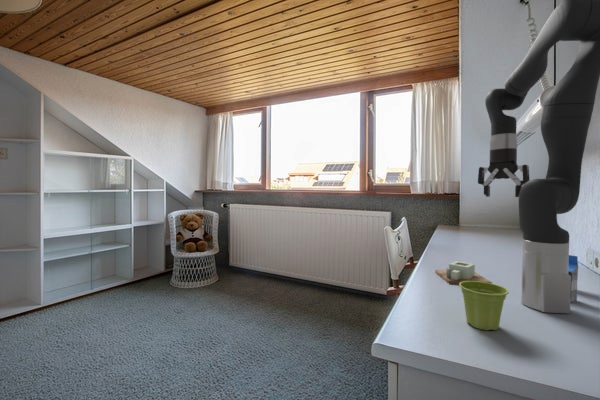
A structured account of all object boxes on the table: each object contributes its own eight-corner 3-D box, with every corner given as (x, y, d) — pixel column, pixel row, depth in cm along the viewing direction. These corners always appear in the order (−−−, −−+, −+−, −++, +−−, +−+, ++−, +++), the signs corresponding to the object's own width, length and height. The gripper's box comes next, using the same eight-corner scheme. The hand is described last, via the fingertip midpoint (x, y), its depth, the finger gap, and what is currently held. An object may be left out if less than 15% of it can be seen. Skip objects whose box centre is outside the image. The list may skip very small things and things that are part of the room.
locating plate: (491, 285, 93) (492, 271, 93) (448, 283, 95) (449, 270, 95) (472, 273, 106) (473, 261, 106) (435, 272, 108) (435, 260, 108)
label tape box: (532, 293, 86) (533, 251, 86) (539, 290, 88) (540, 250, 88) (570, 303, 79) (572, 257, 78) (577, 300, 81) (579, 256, 80)
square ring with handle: (455, 272, 105) (456, 261, 105) (474, 275, 100) (474, 264, 100) (444, 277, 99) (444, 265, 99) (463, 281, 94) (463, 269, 94)
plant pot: (463, 312, 73) (463, 278, 73) (509, 323, 67) (510, 285, 67) (454, 326, 66) (455, 287, 65) (505, 339, 60) (506, 297, 59)
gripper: (475, 150, 102) (474, 196, 102) (526, 145, 91) (525, 197, 91) (483, 151, 107) (482, 196, 107) (532, 147, 96) (531, 197, 96)
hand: (502, 196), depth 99 cm, fingers open, 8 cm apart
